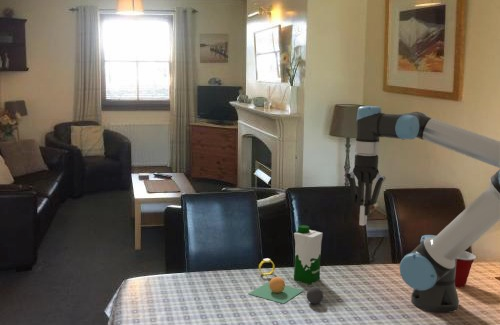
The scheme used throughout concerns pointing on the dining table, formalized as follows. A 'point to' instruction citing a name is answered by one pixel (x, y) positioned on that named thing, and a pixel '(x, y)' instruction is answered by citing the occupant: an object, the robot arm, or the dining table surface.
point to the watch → (266, 262)
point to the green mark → (277, 297)
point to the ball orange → (277, 284)
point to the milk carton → (307, 255)
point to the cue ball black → (314, 295)
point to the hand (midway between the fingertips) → (362, 224)
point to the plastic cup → (463, 268)
